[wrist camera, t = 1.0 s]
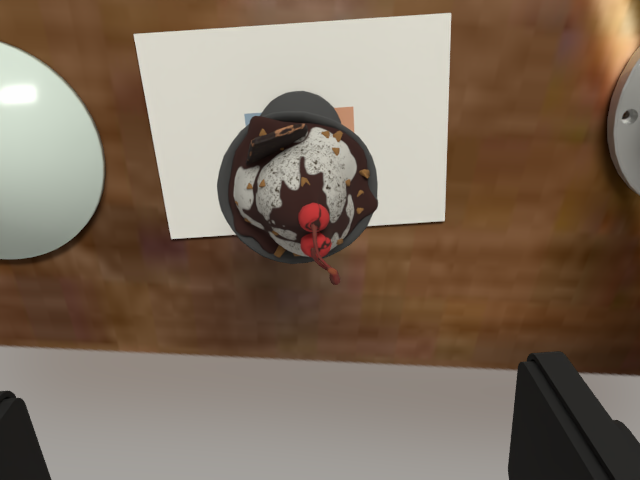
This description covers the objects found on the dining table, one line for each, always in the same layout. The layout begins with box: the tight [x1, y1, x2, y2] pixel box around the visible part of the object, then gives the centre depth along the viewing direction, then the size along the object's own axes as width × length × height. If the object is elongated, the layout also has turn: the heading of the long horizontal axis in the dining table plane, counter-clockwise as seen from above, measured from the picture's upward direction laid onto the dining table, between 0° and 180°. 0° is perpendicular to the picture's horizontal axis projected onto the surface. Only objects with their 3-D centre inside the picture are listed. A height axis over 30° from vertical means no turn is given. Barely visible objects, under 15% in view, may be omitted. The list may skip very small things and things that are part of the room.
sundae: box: [217, 91, 378, 285], centre depth 26 cm, size 7×7×15 cm
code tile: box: [134, 13, 451, 239], centre depth 33 cm, size 17×12×1 cm
